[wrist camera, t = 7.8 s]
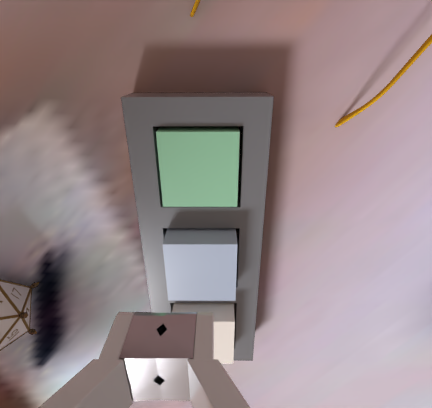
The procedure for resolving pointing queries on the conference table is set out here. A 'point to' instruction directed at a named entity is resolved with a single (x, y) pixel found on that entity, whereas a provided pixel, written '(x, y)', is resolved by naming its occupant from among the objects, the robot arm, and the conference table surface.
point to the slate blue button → (200, 264)
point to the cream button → (216, 326)
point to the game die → (14, 311)
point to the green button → (198, 165)
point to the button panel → (202, 216)
